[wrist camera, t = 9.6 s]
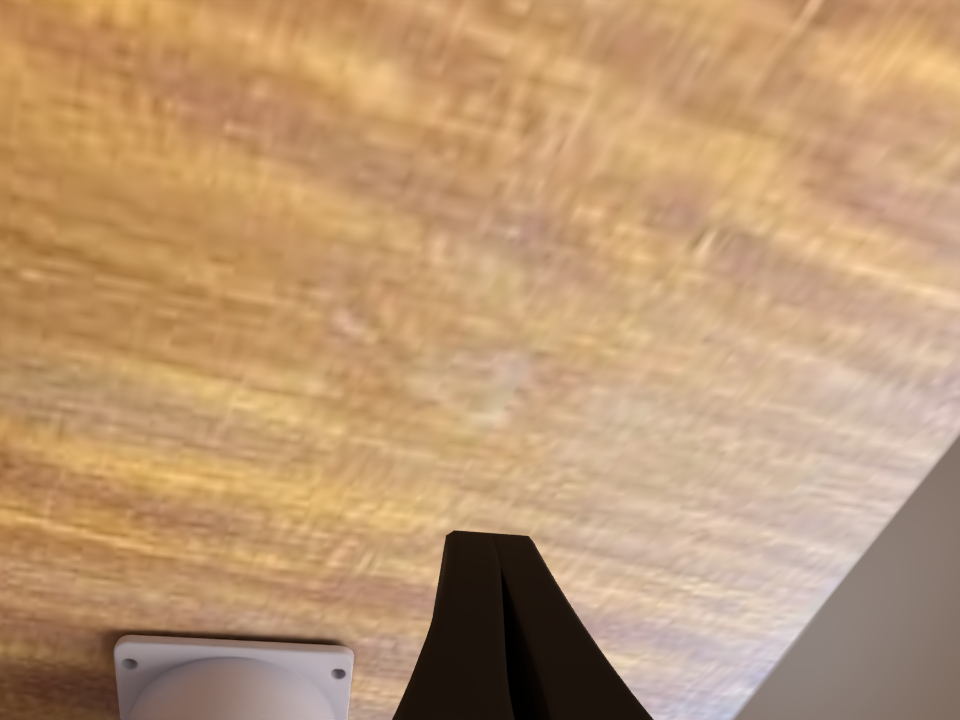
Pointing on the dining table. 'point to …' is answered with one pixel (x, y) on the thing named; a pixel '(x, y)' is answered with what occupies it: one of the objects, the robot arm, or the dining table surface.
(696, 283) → the dining table surface
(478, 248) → the dining table surface
